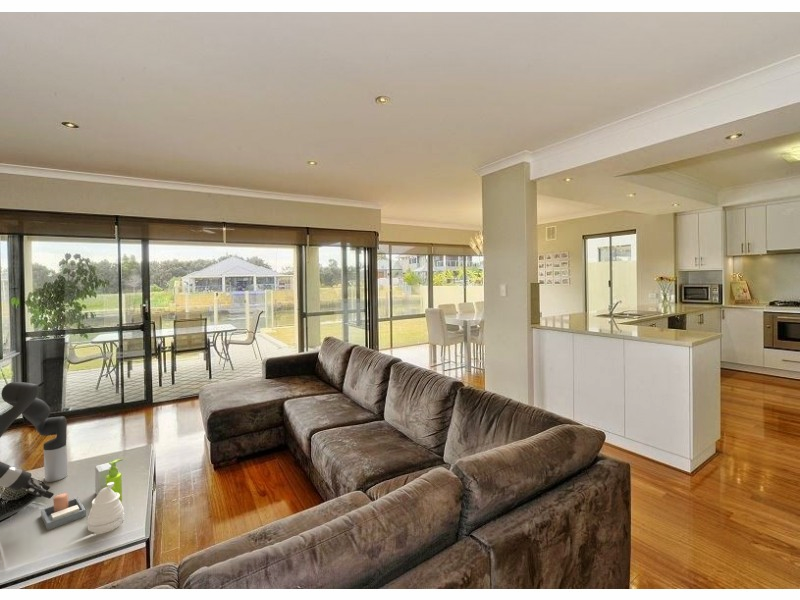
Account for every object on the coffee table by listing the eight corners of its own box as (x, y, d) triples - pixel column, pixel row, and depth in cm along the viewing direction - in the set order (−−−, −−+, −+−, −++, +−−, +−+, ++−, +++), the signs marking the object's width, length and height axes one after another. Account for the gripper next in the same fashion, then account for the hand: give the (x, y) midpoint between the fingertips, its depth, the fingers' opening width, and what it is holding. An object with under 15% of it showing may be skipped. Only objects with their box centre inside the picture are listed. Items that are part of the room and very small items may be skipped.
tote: (41, 518, 174) (40, 509, 174) (78, 505, 184) (77, 497, 184) (47, 532, 164) (47, 523, 164) (86, 517, 174) (85, 509, 174)
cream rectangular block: (51, 522, 169) (50, 513, 169) (77, 513, 176) (77, 504, 176) (53, 526, 167) (52, 517, 166) (79, 516, 174) (79, 508, 173)
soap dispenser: (127, 498, 190) (125, 459, 189) (112, 506, 183) (111, 465, 182) (118, 496, 192) (117, 457, 191) (104, 503, 185) (102, 463, 184)
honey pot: (122, 512, 179) (120, 474, 178) (126, 525, 170) (125, 485, 168) (86, 523, 170) (85, 484, 169) (88, 538, 161) (87, 496, 160)
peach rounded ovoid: (53, 513, 176) (52, 496, 175) (67, 508, 179) (66, 492, 179) (55, 518, 172) (54, 500, 172) (69, 512, 176) (68, 496, 176)
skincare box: (95, 494, 193) (94, 466, 192) (109, 489, 197) (108, 461, 196) (99, 501, 187) (98, 471, 186) (114, 495, 192) (113, 467, 191)
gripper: (23, 475, 160) (61, 490, 170) (18, 464, 169) (54, 479, 179) (6, 492, 156) (45, 507, 166) (1, 480, 165) (39, 495, 175)
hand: (50, 492), depth 172 cm, fingers open, 8 cm apart
